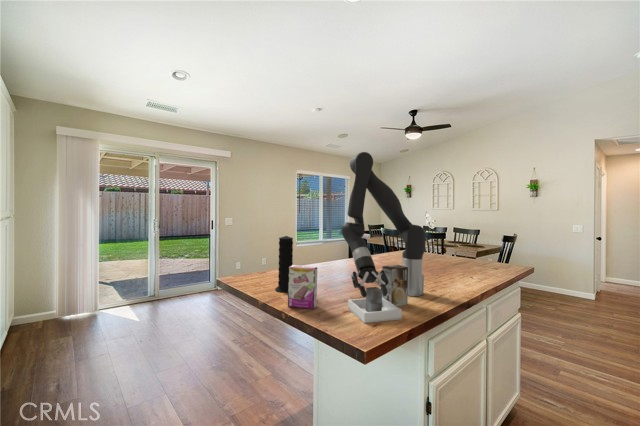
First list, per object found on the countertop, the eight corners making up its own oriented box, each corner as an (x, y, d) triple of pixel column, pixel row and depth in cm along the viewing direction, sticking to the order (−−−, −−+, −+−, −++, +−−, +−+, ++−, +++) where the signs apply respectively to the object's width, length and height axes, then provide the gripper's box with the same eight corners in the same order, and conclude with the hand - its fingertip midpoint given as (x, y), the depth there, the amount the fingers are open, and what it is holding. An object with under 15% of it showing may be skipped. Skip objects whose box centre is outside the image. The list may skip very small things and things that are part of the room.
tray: (381, 305, 117) (381, 297, 117) (401, 319, 103) (401, 309, 102) (348, 308, 113) (348, 299, 113) (364, 323, 98) (364, 313, 98)
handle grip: (271, 291, 133) (291, 293, 131) (272, 236, 133) (292, 237, 131) (279, 286, 143) (297, 287, 141) (279, 234, 143) (298, 235, 141)
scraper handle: (375, 309, 110) (376, 286, 110) (381, 313, 106) (382, 290, 106) (365, 310, 109) (366, 287, 109) (370, 314, 105) (371, 290, 105)
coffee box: (397, 300, 124) (398, 264, 124) (407, 304, 119) (408, 267, 118) (381, 303, 120) (381, 265, 120) (391, 307, 114) (392, 268, 114)
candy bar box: (287, 307, 113) (288, 266, 112) (291, 303, 118) (291, 264, 117) (314, 309, 110) (314, 268, 110) (317, 305, 115) (317, 266, 115)
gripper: (350, 255, 112) (361, 292, 102) (381, 254, 116) (396, 289, 106) (345, 266, 118) (355, 302, 107) (375, 264, 122) (388, 299, 111)
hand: (375, 295), depth 106 cm, fingers open, 8 cm apart
